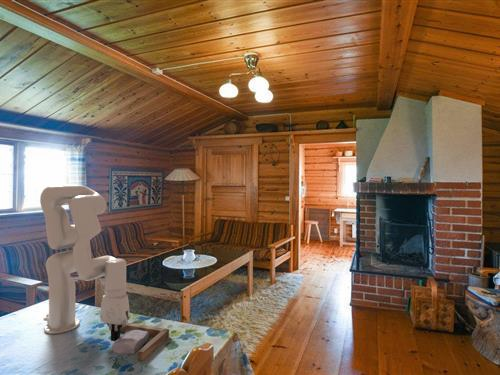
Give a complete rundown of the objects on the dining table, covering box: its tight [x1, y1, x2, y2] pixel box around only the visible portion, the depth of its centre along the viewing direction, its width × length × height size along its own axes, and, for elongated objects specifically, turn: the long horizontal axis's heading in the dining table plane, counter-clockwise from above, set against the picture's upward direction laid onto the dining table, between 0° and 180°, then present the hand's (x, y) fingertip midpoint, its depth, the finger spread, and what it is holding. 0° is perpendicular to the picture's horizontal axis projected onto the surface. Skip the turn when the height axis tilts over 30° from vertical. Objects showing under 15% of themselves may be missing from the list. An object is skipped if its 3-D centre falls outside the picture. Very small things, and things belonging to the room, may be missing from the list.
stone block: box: [112, 330, 150, 355], centre depth 114 cm, size 12×5×10 cm
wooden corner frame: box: [120, 322, 170, 362], centre depth 115 cm, size 24×17×3 cm
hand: (115, 339), depth 115 cm, fingers closed
